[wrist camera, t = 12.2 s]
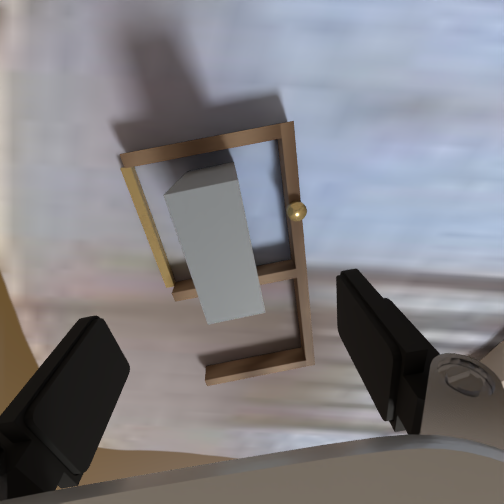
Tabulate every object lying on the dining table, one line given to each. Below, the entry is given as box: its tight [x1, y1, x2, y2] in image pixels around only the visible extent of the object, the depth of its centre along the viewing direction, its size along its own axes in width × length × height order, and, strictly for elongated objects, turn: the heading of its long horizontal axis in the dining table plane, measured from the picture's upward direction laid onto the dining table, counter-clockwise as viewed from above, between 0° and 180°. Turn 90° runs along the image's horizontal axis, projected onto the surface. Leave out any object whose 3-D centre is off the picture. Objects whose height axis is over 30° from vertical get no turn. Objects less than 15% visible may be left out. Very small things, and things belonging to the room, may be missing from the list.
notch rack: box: [120, 121, 315, 386], centre depth 25 cm, size 14×26×3 cm, turn 10°
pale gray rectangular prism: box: [164, 162, 265, 324], centre depth 19 cm, size 4×9×9 cm, turn 11°
